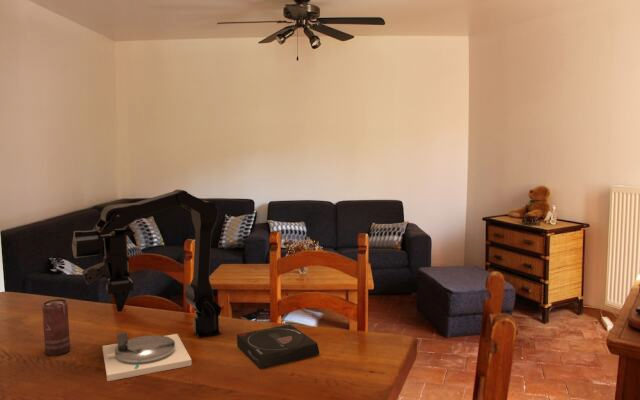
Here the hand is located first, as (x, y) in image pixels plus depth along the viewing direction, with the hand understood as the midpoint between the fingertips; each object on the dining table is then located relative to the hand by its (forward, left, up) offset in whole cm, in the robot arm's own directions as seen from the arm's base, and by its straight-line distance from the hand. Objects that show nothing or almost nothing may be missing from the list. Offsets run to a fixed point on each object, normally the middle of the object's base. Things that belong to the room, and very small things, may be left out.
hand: (119, 309), depth 139 cm
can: (+16, -8, -12) cm, 21 cm away
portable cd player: (-38, +18, -13) cm, 44 cm away
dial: (-4, +7, -10) cm, 13 cm away
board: (-5, +7, -12) cm, 15 cm away
